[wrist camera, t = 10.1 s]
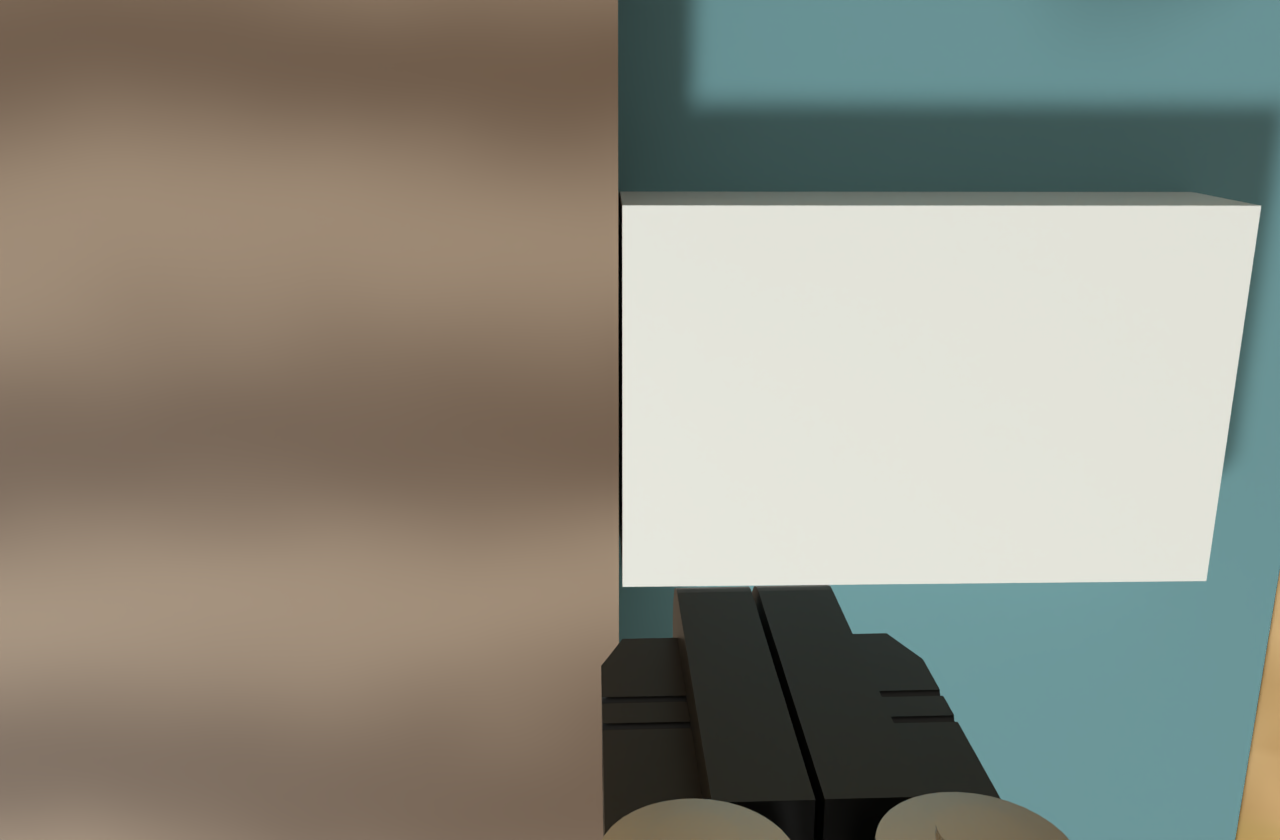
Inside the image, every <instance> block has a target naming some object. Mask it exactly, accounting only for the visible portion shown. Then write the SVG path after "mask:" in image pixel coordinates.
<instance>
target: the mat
mask: <svg viewBox="0 0 1280 840" xmlns="http://www.w3.org/2000/svg"><path fill="white" fill-rule="evenodd" d="M620 192H1195V193H1200V194H1205V195H1210V196H1215V197H1220V198H1225V199H1230V200H1235V201H1240V202H1245V203H1250V204H1255V205H1260V206H1261V212H1260V218H1259V225H1258V232H1257V239H1256V246H1255V252H1254V259H1253V266H1252V273H1251V280H1250V287H1249V293H1248V300H1247V307H1246V314H1245V321H1244V327H1243V334H1242V341H1241V348H1240V355H1239V361H1238V368H1237V375H1236V382H1235V389H1234V396H1233V402H1232V409H1231V416H1230V423H1229V430H1228V436H1227V443H1226V450H1225V457H1224V464H1223V471H1222V477H1221V484H1220V491H1219V498H1218V505H1217V511H1216V518H1215V525H1214V532H1213V539H1212V546H1211V552H1210V559H1209V566H1208V573H1207V580H1206V581H1162V582H1062V583H962V584H862V585H829V586H831V588H832V590H833V592H834V594H835V596H836V599H837V601H838V603H839V605H840V607H841V610H842V612H843V614H844V616H845V618H846V620H847V623H848V625H849V627H850V629H851V631H852V633H853V634H872V633H887V634H888V635H890V636H891V637H893V638H894V639H895V640H897V641H898V642H900V643H901V644H902V645H904V646H905V647H907V648H908V649H909V650H911V651H912V652H914V653H915V654H917V655H918V656H919V657H921V658H922V659H923V660H924V662H925V664H926V666H927V667H928V669H929V671H930V673H931V675H932V676H933V678H934V680H935V682H936V684H937V685H938V687H939V689H940V696H944V698H945V700H946V701H947V703H948V705H949V707H950V709H951V710H952V712H953V714H954V721H955V722H958V723H959V725H960V727H961V728H962V730H963V732H964V734H965V736H966V737H967V739H968V741H969V743H970V745H971V746H972V748H973V750H974V752H975V753H976V755H977V757H978V759H979V761H980V762H981V764H982V766H983V768H984V770H985V771H986V773H987V775H988V777H989V779H990V780H991V782H992V784H993V786H994V788H995V789H996V791H997V793H998V795H999V797H1000V798H1001V799H1002V800H1006V801H1009V802H1012V803H1014V804H1017V805H1019V806H1022V807H1024V808H1026V809H1028V810H1030V811H1032V812H1034V813H1036V814H1038V815H1040V816H1041V817H1043V818H1045V819H1046V820H1048V821H1049V822H1051V823H1052V824H1053V825H1054V826H1056V827H1057V828H1058V829H1059V830H1060V831H1062V832H1063V833H1064V834H1065V835H1066V837H1067V838H1068V839H1069V840H1235V837H1236V831H1237V825H1238V819H1239V813H1240V807H1241V801H1242V795H1243V789H1244V783H1245V777H1246V771H1247V764H1248V758H1249V752H1250V746H1251V740H1252V734H1253V728H1254V722H1255V716H1256V710H1257V704H1258V698H1259V692H1260V685H1261V679H1262V673H1263V667H1264V661H1265V655H1266V649H1267V643H1268V637H1269V631H1270V625H1271V619H1272V613H1273V607H1274V600H1275V594H1276V588H1277V582H1278V576H1279V570H1280V0H618V375H619V643H620V641H621V640H622V639H635V638H673V598H674V589H675V588H692V587H747V586H662V587H623V586H622V564H621V542H620ZM762 586H789V585H762ZM749 587H750V589H751V591H752V590H753V588H754V586H749Z"/></svg>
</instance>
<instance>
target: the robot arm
mask: <svg viewBox="0 0 1280 840" xmlns="http://www.w3.org/2000/svg"><path fill="white" fill-rule="evenodd" d="M601 703H602V792H603V839H602V840H1069V839H1068V838H1067V837H1066V835H1065V834H1064V833H1063V832H1062V831H1060V830H1059V829H1058V828H1057V827H1056V826H1054V825H1053V824H1052V823H1051V822H1049V821H1048V820H1046V819H1045V818H1043V817H1041V816H1040V815H1038V814H1036V813H1034V812H1032V811H1030V810H1028V809H1026V808H1024V807H1022V806H1019V805H1017V804H1014V803H1012V802H1009V801H1006V800H1002V799H1001V798H1000V797H999V795H998V793H997V791H996V789H995V788H994V786H993V784H992V782H991V780H990V779H989V777H988V775H987V773H986V771H985V770H984V768H983V766H982V764H981V762H980V761H979V759H978V757H977V755H976V753H975V752H974V750H973V748H972V746H971V745H970V743H969V741H968V739H967V737H966V736H965V734H964V732H963V730H962V728H961V727H960V725H959V723H958V722H955V721H954V714H953V712H952V710H951V709H950V707H949V705H948V703H947V701H946V700H945V698H944V696H940V689H939V687H938V685H937V684H936V682H935V680H934V678H933V676H932V675H931V673H930V671H929V669H928V667H927V666H926V664H925V662H924V660H923V659H922V658H921V657H919V656H918V655H917V654H915V653H914V652H912V651H911V650H909V649H908V648H907V647H905V646H904V645H902V644H901V643H900V642H898V641H897V640H895V639H894V638H893V637H891V636H890V635H888V634H887V633H872V634H853V633H852V631H851V629H850V627H849V625H848V623H847V620H846V618H845V616H844V614H843V612H842V610H841V607H840V605H839V603H838V601H837V599H836V596H835V594H834V592H833V590H832V588H831V586H829V585H789V586H754V588H753V590H752V591H751V589H750V587H749V586H747V587H692V588H675V589H674V598H673V638H635V639H622V640H621V641H620V643H619V644H618V645H617V646H616V648H615V649H614V650H613V651H612V653H611V654H610V655H609V657H608V658H607V659H606V660H605V662H604V663H603V664H602V665H601Z"/></svg>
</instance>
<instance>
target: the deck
mask: <svg viewBox="0 0 1280 840" xmlns="http://www.w3.org/2000/svg"><path fill="white" fill-rule="evenodd" d="M618 644H619V375H618V0H0V840H602V839H603V792H602V703H601V665H602V664H603V663H604V662H605V660H606V659H607V658H608V657H609V655H610V654H611V653H612V651H613V650H614V649H615V648H616V646H617V645H618Z"/></svg>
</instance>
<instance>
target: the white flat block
mask: <svg viewBox="0 0 1280 840" xmlns="http://www.w3.org/2000/svg"><path fill="white" fill-rule="evenodd" d="M1260 212H1261V206H1260V205H1255V204H1250V203H1245V202H1240V201H1235V200H1230V199H1225V198H1220V197H1215V196H1210V195H1205V194H1200V193H1195V192H620V542H621V564H622V586H623V587H662V586H762V585H862V584H962V583H1062V582H1162V581H1206V580H1207V573H1208V566H1209V559H1210V552H1211V546H1212V539H1213V532H1214V525H1215V518H1216V511H1217V505H1218V498H1219V491H1220V484H1221V477H1222V471H1223V464H1224V457H1225V450H1226V443H1227V436H1228V430H1229V423H1230V416H1231V409H1232V402H1233V396H1234V389H1235V382H1236V375H1237V368H1238V361H1239V355H1240V348H1241V341H1242V334H1243V327H1244V321H1245V314H1246V307H1247V300H1248V293H1249V287H1250V280H1251V273H1252V266H1253V259H1254V252H1255V246H1256V239H1257V232H1258V225H1259V218H1260Z"/></svg>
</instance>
